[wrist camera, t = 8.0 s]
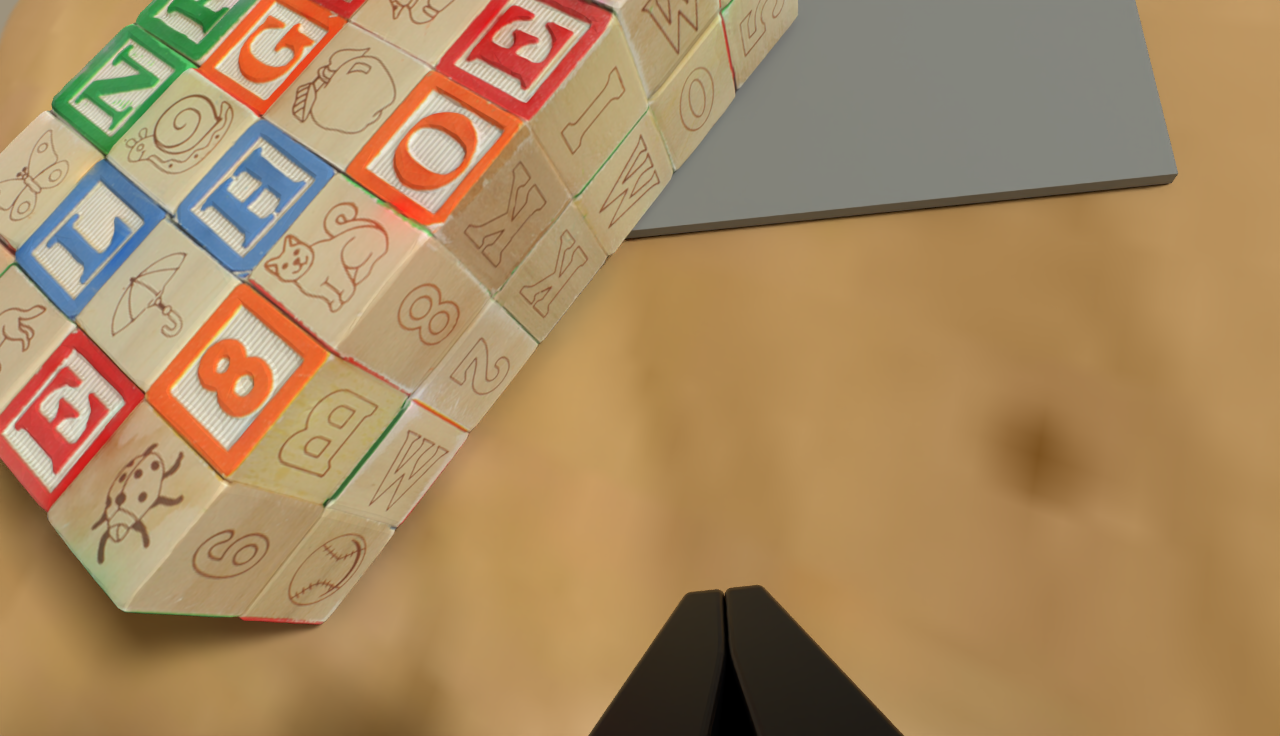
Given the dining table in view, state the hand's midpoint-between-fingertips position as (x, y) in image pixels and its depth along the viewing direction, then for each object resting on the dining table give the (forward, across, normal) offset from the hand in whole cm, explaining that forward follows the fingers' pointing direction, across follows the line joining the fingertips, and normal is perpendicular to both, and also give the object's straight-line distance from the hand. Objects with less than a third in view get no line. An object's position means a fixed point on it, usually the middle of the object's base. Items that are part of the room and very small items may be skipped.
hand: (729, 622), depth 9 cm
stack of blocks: (+11, +3, -3) cm, 11 cm away
